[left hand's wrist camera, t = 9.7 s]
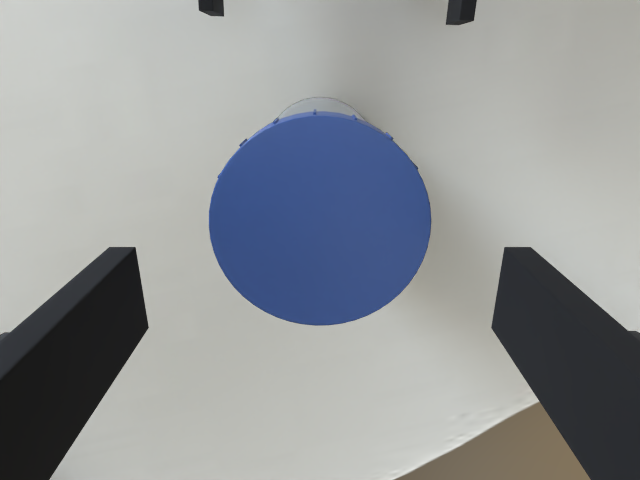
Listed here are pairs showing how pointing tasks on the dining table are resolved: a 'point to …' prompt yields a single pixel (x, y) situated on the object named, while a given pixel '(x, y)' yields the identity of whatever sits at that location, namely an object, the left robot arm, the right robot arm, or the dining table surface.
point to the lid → (319, 218)
